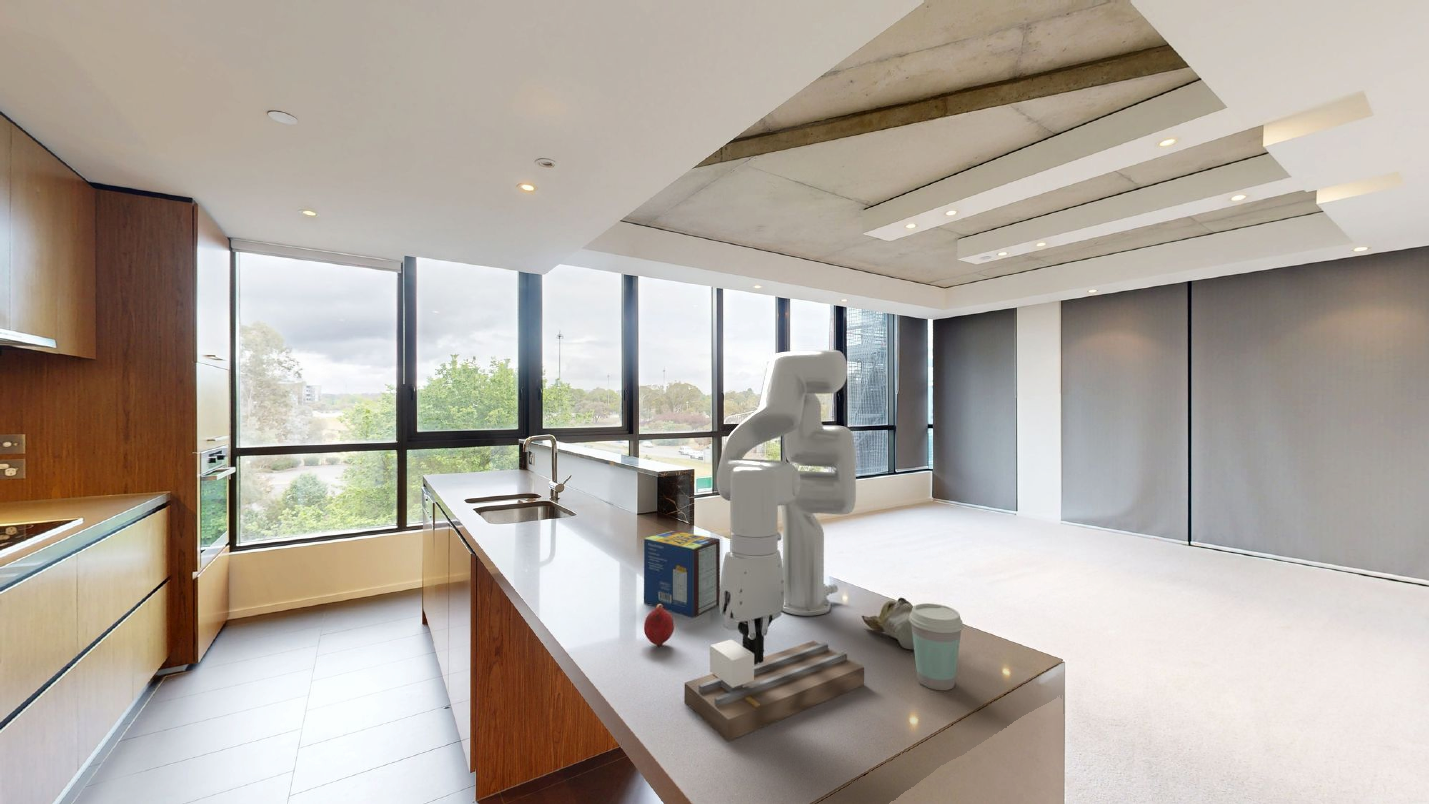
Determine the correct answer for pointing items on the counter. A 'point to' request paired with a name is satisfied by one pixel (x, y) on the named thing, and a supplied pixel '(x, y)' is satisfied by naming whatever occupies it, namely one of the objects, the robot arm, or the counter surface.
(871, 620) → the ceramic sculpture
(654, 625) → the onion
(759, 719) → the linear slide rail
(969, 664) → the counter surface
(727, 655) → the white block
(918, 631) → the coffee cup
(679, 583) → the protein box
